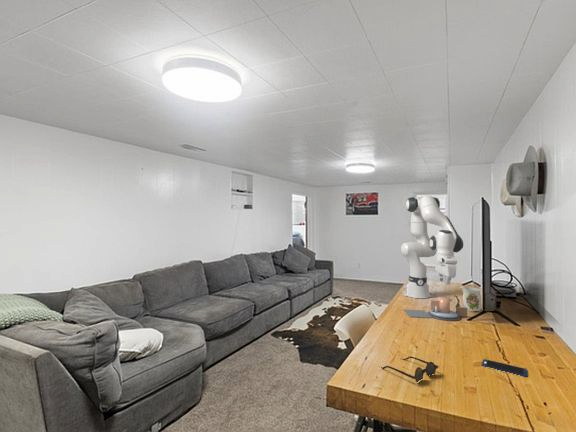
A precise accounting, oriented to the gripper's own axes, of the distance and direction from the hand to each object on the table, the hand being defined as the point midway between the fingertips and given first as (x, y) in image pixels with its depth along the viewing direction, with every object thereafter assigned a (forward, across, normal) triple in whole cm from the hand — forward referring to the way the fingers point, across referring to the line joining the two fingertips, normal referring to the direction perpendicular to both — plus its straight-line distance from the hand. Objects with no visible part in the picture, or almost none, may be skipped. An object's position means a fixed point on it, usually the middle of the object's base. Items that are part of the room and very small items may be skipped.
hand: (444, 282), depth 183 cm
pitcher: (+19, -15, +24) cm, 34 cm away
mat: (+19, -2, -14) cm, 24 cm away
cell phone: (+20, +64, -3) cm, 67 cm away
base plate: (+19, 0, 0) cm, 19 cm away
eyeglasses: (+20, +71, -40) cm, 84 cm away
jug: (+17, 0, -2) cm, 17 cm away
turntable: (+18, 0, +3) cm, 18 cm away
